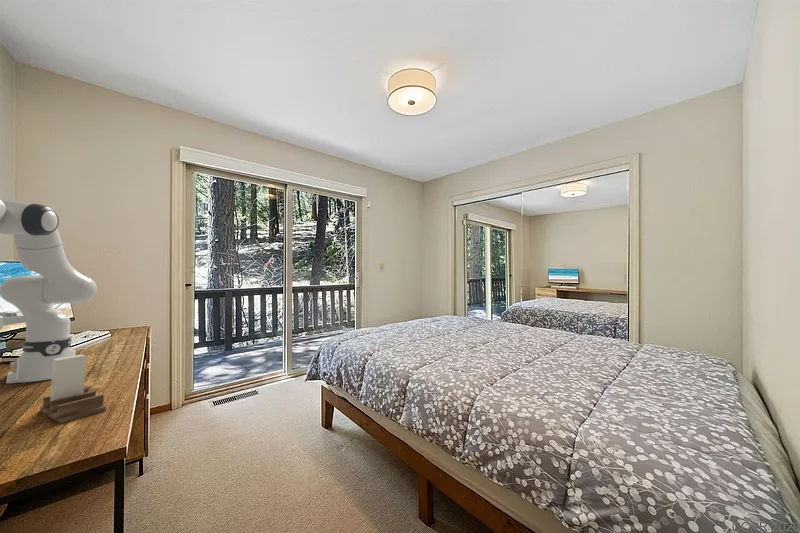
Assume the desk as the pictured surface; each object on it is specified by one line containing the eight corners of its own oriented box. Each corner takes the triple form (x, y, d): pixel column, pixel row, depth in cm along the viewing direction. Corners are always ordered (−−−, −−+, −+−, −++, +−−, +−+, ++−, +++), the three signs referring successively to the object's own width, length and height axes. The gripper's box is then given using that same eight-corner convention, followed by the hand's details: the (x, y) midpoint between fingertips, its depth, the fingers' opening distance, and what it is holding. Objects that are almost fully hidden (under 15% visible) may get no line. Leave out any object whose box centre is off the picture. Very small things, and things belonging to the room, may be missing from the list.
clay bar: (49, 408, 85) (52, 358, 86) (79, 400, 90) (82, 354, 91) (53, 410, 84) (56, 360, 84) (83, 402, 89) (85, 355, 90)
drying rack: (40, 410, 86) (41, 396, 86) (83, 399, 94) (84, 386, 94) (60, 423, 79) (61, 407, 79) (105, 410, 87) (106, 396, 87)
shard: (64, 404, 92) (65, 398, 92) (40, 403, 92) (41, 397, 92) (101, 391, 102) (101, 385, 102) (79, 390, 103) (79, 385, 103)
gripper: (-63, 315, 66) (33, 309, 78) (-77, 307, 75) (11, 303, 87) (-65, 343, 66) (32, 332, 78) (-79, 332, 75) (10, 324, 87)
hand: (21, 317), depth 83 cm, fingers open, 8 cm apart
